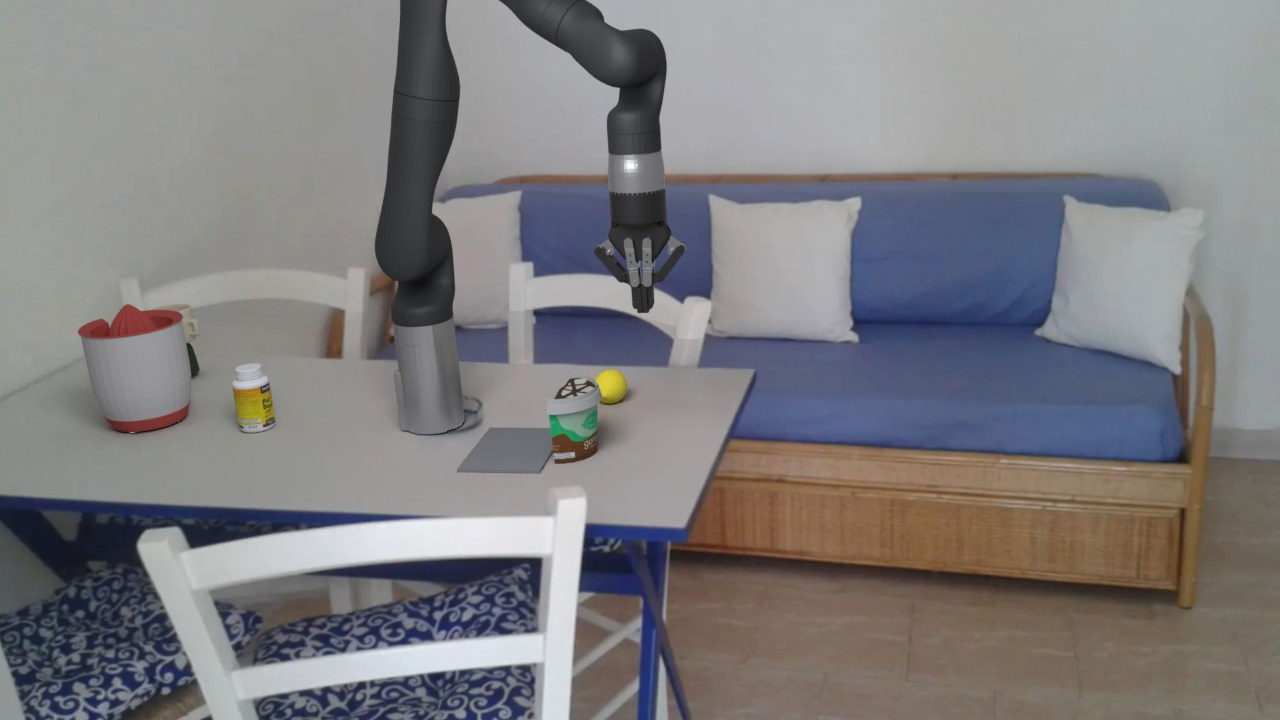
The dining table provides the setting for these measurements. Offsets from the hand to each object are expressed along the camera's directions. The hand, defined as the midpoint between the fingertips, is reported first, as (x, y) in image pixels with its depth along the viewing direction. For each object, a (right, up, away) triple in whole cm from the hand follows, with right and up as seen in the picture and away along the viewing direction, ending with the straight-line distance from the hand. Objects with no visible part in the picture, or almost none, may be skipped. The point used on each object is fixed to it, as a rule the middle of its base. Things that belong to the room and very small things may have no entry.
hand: (644, 311), depth 156 cm
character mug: (-85, -10, +54) cm, 101 cm away
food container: (-9, -20, +8) cm, 23 cm away
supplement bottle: (-61, -18, +25) cm, 69 cm away
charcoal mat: (-19, -20, +10) cm, 29 cm away
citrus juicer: (-82, -17, +32) cm, 89 cm away
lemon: (-5, -14, +28) cm, 31 cm away
